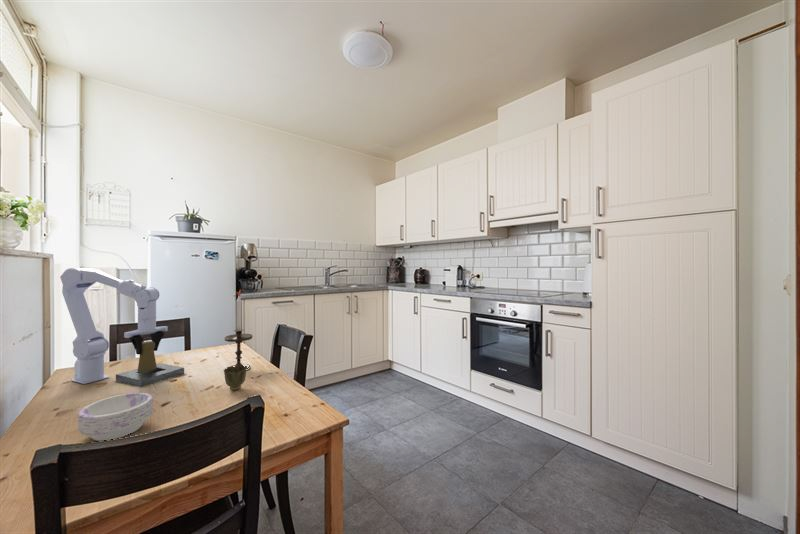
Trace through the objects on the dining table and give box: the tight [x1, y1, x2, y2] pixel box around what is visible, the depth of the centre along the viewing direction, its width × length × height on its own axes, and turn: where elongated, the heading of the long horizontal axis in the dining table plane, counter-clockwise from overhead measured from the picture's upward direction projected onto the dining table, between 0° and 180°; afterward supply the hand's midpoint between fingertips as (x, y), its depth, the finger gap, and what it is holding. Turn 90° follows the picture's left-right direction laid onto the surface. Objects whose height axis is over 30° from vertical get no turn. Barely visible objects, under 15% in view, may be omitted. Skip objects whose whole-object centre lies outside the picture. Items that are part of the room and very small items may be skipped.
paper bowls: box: [77, 392, 154, 442], centre depth 87 cm, size 15×15×8 cm
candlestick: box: [224, 289, 253, 369], centre depth 140 cm, size 11×11×35 cm
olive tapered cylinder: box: [137, 340, 157, 372], centre depth 128 cm, size 6×6×11 cm
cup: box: [223, 365, 247, 392], centre depth 117 cm, size 8×7×8 cm
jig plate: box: [115, 362, 185, 388], centre depth 129 cm, size 16×16×2 cm
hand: (147, 352), depth 128 cm, fingers closed on olive tapered cylinder, 5 cm apart
